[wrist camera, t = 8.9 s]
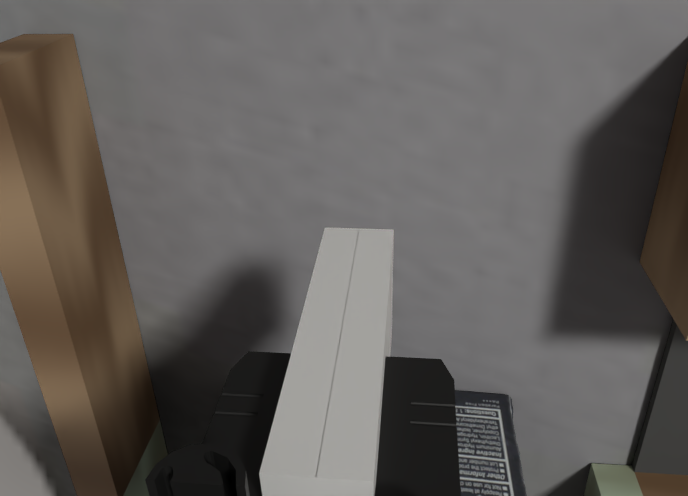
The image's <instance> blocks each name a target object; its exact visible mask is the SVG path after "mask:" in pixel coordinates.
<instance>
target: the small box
mask: <svg viewBox="0 0 688 496" xmlns="http://www.w3.org/2000/svg"><path fill="white" fill-rule="evenodd" d="M455 408H456V422H457V423H456V428H457V438H458V455H459V471H460V488H461V496H527V495H526V489H525V484H524V479H523V475H522V467H521V461H520V454H519V450H518V446H517V442H516V439H515V437H516V434H515V431H514V425H513V406H512V399H511V398H510V397H509V396H508V395H505V394H494V393H480V392H469V391H456V390H455Z"/></svg>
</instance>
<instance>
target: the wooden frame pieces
mask: <svg viewBox="0 0 688 496" xmlns="http://www.w3.org/2000/svg"><path fill="white" fill-rule="evenodd" d="M640 264H641V265H642V267H643V269H644V270H645V272H646V274H647V276H648V277H649V279H650V281H651V282H652V284H653V286H654V287H655V289H656V291H657V292H658V294H659V296H660V297H661V299H662V301H663V302H664V304H665V306H666V307H667V309H668V311H669V312H670V314H671V316H672V318H673V319H674V321H675V323H676V324H677V326H678V328H679V329H680V331H681V333H682V334H683V336H684V338H685V339H686V341H688V62H687V66H686V70H685V74H684V79H683V83H682V87H681V91H680V95H679V100H678V104H677V108H676V112H675V116H674V120H673V125H672V129H671V133H670V137H669V141H668V145H667V150H666V154H665V158H664V162H663V166H662V171H661V175H660V179H659V183H658V187H657V191H656V196H655V200H654V204H653V208H652V212H651V216H650V221H649V225H648V229H647V233H646V237H645V242H644V246H643V250H642V254H641V258H640ZM0 270H1V273H2V276H3V279H4V282H5V285H6V288H7V291H8V294H9V297H10V299H11V302H12V305H13V308H14V311H15V314H16V317H17V320H18V323H19V326H20V329H21V332H22V335H23V338H24V341H25V344H26V347H27V350H28V352H29V355H30V358H31V361H32V364H33V367H34V370H35V373H36V376H37V379H38V382H39V385H40V388H41V391H42V394H43V397H44V400H45V403H46V406H47V408H48V411H49V414H50V417H51V420H52V423H53V426H54V429H55V432H56V435H57V438H58V441H59V444H60V447H61V450H62V453H63V456H64V459H65V461H66V464H67V467H68V470H69V473H70V476H71V479H72V482H73V485H74V488H75V491H76V494H77V496H150V495H149V492H148V488H147V485H146V481H145V479H146V478H147V476H148V475H149V473H150V472H151V470H152V469H153V468H154V466H155V465H156V464H157V463H158V462H159V461H161V460H162V459H163V458H165V457H166V456H167V455H168V453H167V449H166V445H165V440H164V436H163V431H162V427H161V422H160V418H159V413H158V409H157V405H156V400H155V396H154V391H153V387H152V382H151V378H150V373H149V369H148V365H147V360H146V356H145V351H144V347H143V342H142V338H141V334H140V329H139V325H138V320H137V316H136V311H135V307H134V302H133V298H132V294H131V289H130V285H129V280H128V276H127V271H126V267H125V263H124V258H123V254H122V249H121V245H120V240H119V236H118V231H117V227H116V223H115V218H114V214H113V209H112V205H111V200H110V196H109V191H108V187H107V183H106V178H105V174H104V169H103V165H102V160H101V156H100V152H99V147H98V143H97V138H96V134H95V129H94V125H93V120H92V116H91V112H90V107H89V103H88V98H87V94H86V89H85V85H84V81H83V76H82V72H81V67H80V63H79V58H78V54H77V49H76V45H75V41H74V36H73V34H23V35H20V36H18V37H15V38H12V39H10V40H7V41H4V42H1V43H0ZM584 496H688V475H675V474H658V473H642V472H634V470H633V467H632V466H627V465H611V464H594V463H591V467H590V471H589V475H588V480H587V484H586V488H585V492H584Z"/></svg>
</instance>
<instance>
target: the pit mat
mask: <svg viewBox="0 0 688 496" xmlns="http://www.w3.org/2000/svg"><path fill="white" fill-rule="evenodd" d="M632 467H633V470H634V472H642V473H658V474H675V475H688V341H686V339H685V338H684V336H683V334H682V333H681V331H680V329H679V328H678V326H677V324H676V323H675V321H674V320H673V323H672V327H671V330H670V334H669V337H668V341H667V344H666V348H665V351H664V355H663V358H662V362H661V366H660V369H659V373H658V376H657V380H656V383H655V387H654V390H653V394H652V397H651V401H650V404H649V408H648V411H647V415H646V418H645V422H644V425H643V429H642V432H641V436H640V439H639V443H638V446H637V450H636V453H635V457H634V460H633V464H632Z"/></svg>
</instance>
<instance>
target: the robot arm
mask: <svg viewBox="0 0 688 496" xmlns="http://www.w3.org/2000/svg"><path fill="white" fill-rule="evenodd" d="M393 233H394V230H391V229H356V228H325V229H324V233H323V237H322V240H321V244H320V248H319V252H318V255H317V259H316V263H315V267H314V270H313V274H312V278H311V282H310V285H309V289H308V293H307V297H306V300H305V304H304V308H303V311H302V315H301V319H300V323H299V326H298V330H297V334H296V338H295V341H294V345H293V349H292V353H291V354H290V353H270V352H250V351H249V352H248V353H247V354H246V355H245V356H244V357H243V358H242V359H241V360H240V361H239V362H238V363H237V364H236V365H235V366H234V367H233V368H232V369H231V370H230V372H229V375H228V378H227V380H226V383H225V386H224V388H223V391H222V396H220V399H219V401H218V404H217V407H216V409H215V415H213V417H212V420H211V422H210V425H209V428H208V430H207V433H206V436H205V438H204V441H203V444H194V445H189V446H186V447H184V448H181V449H178V450H176V451H173V452H171V453H170V454H169V455H167V456H166V457H165V458H163V459H162V460H161V461H159V462H158V463H157V464H156V465H155V466H154V468H153V469H152V470H151V472H150V473H149V475H148V476H147V478H146V479H145V481H146V485H147V488H148V492H149V495H150V496H461V488H460V471H459V455H458V438H457V428H456V423H457V422H456V408H455V389H454V379H453V378H452V376H451V374H450V373H449V371H448V370H447V368H446V366H445V365H444V363H443V362H442V360H441V359H425V358H405V357H390V351H391V336H392V296H393Z"/></svg>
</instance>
